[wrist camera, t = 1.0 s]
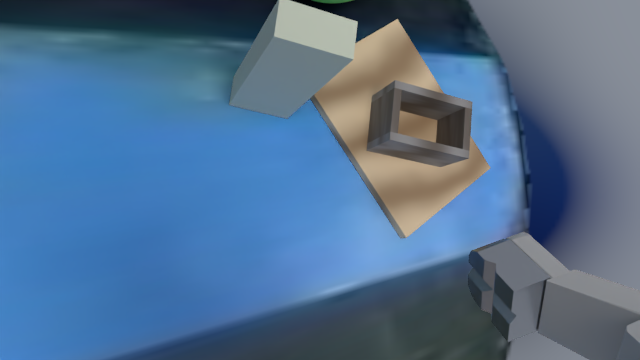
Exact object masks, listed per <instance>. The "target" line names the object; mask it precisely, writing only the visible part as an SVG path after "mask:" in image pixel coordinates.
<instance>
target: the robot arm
mask: <svg viewBox="0 0 640 360" xmlns="http://www.w3.org/2000/svg"><path fill="white" fill-rule="evenodd" d="M469 263H470V265H471V266H472V267H473V268H472V270H471V271H470V273H469V274H468V286H469V289H470V292H471V295H472V297H473V299H474V300H475V302H476V303H477V305H478V306H479V307H480V309H482V310H484V311H486V312H489V313H491V314H492V323H493V325H494V326H495V327H496V328H497V329H498V331H499V332H500V333H501V334H502V336H503V337H504V338H505V339H506V340H507V342H509V341H512V340H514V339H517V338H520V337H522V336H525V335H528V334H530V333H533V332H536V331H538V333H539V334H541V335H543V336H545V337H547V338H549V339H551V340H553V341H555V342H557V343H558V344H561V345H562V346H564V347H566V348H568V349H570V350H572V351H574V352H576V353H578V354H580V355H581V356H583V357H585V358H587V359H589V360H640V291H639V290H636V289H633V288H630V287H627V286H624V285H621V284H618V283H615V282H612V281H609V280H606V279H603V278H600V277H597V276H593V275H590V274H587V273H584V272H581V271H578V270H572V271H569V270H568V269H567V268H566V267H565V266H564V265H562V264H561V263H560V262H559V261H558V260H557V259H555V258H554V256H552V255H551V254H550V253H549V252H548V251H547V250H546V249H545V248H543V247H542V246H541V245H540V244H539V243H538V242H537V241H536V240H534V239H533V238H532V237H531V236H530V235H529V234H527V233H525V232H522V233H519V234H516V235H514V236H511V237H508V238H506V239H502V240H499V241H496V242H494V243H491V244H488V245H486V246H483V247H480V248H477V249H475V250H472V251H471V252H470V254H469Z"/></svg>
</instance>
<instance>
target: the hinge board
mask: <svg viewBox="0 0 640 360" xmlns="http://www.w3.org/2000/svg"><path fill="white" fill-rule="evenodd" d="M310 99H311V101H312V102H313V104H314V105H315V107H316V108H317V110H318V111H319V113H320V114H321V116H322V118H323V119H324V121H325V122H326V124H327V125H328V127H329V128H330V130H331V131H332V133H333V135H334V136H335V138H336V139H337V141H338V142H339V144H340V145H341V147H342V148H343V150H344V152H345V153H346V155H347V156H348V158H349V159H350V161H351V162H352V164H353V165H354V167H355V169H356V170H357V172H358V173H359V175H360V176H361V178H362V179H363V181H364V182H365V184H366V186H367V187H368V189H369V190H370V192H371V193H372V195H373V196H374V198H375V199H376V201H377V203H378V204H379V206H380V207H381V209H382V210H383V212H384V213H385V215H386V216H387V218H388V220H389V221H390V223H391V224H392V226H393V227H394V229H395V230H396V232H397V233H398V235H399V237H400V238H407V237H408V236H409V235H410V234H412V233H413V232H414V231H415V230H416V229H418V228H419V227H420V226H421V225H422V224H424V223H425V222H426V221H427V220H428V219H430V218H431V217H432V216H433V215H434V214H436V213H437V212H438V211H439V210H440V209H442V208H443V207H444V206H445V205H446V204H448V203H449V202H450V201H451V200H453V199H454V198H455V197H456V196H457V195H459V194H460V193H461V192H462V191H463V190H465V189H466V188H467V187H468V186H469V185H471V184H472V183H473V182H474V181H475V180H477V179H478V178H479V177H480V176H481V175H483V174H484V173H485V172H486V171H487V170H489V169H490V167H489V165H488V163H487V162H486V160H485V159H484V157H483V155H482V154H481V152H480V151H479V149H478V147H477V146H476V144H475V143H474V141H473V139H472V138H471V136H470V133H471V115H472V102H471V101H468V100H464V99H460V98H457V97H453V96H450V95H446V94H444V93H443V91H442V90H441V88H440V86H439V85H438V83H437V82H436V80H435V78H434V77H433V75H432V74H431V72H430V70H429V69H428V67H427V66H426V64H425V62H424V61H423V59H422V58H421V56H420V54H419V53H418V51H417V50H416V48H415V46H414V45H413V43H412V42H411V40H410V38H409V37H408V35H407V34H406V32H405V30H404V29H403V27H402V26H401V24H400V22H399V21H398V19H397V20H395V21H393V22H392V23H390V24H388V25H386V26H385V27H383V28H381V29H379V30H378V31H376V32H374V33H373V34H371V35H369V36H367V37H366V38H364V39H362V40H361V41H359V42H357V43H355V50H354V59H353V60H352V61H351V62H350V63H349V64H348V65H347V66H346V67H344V68H343V69H342V70H341V71H340V72H339V73H338V74H337V75H336V76H334V77H333V78H332V79H331V80H330V81H329V82H328V83H327V84H325V85H324V86H323V87H322V88H321V89H320V90H319V91H318V92H317V93H315V94H314V95H313V96H312V97H311V98H310Z"/></svg>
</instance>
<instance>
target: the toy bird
mask: <svg viewBox="0 0 640 360" xmlns="http://www.w3.org/2000/svg"><path fill="white" fill-rule="evenodd" d="M313 1H317V2H322V3H344V2H349V1H353V0H313Z"/></svg>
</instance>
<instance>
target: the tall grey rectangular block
mask: <svg viewBox="0 0 640 360" xmlns="http://www.w3.org/2000/svg"><path fill="white" fill-rule="evenodd" d="M357 23H358V22H357V21H354V20H350V19H347V18H344V17H341V16H338V15H335V14H332V13H328V12H325V11H322V10H319V9H316V8H313V7H310V6H306V5H303V4H300V3H297V2H294V1H291V0H278V1H277V3H276V5H275V6H274V8H273V10H272V11H271V13H270V15H269V17H268V18H267V20H266V22H265V24H264V25H263V27H262V29H261V30H260V32H259V34H258V36H257V37H256V39H255V41H254V42H253V44H252V46H251V48H250V49H249V51H248V53H247V55H246V56H245V58H244V60H243V61H242V63H241V65H240V67H239V68H238V70H237V72H236V74H235V75H234V78H233V84H232V90H231V96H230V102H229V105H230V106H235V107H239V108H243V109H247V110H252V111H256V112H260V113H264V114H269V115H273V116H277V117H281V118H286V119H288V118H289V117H290V116H291V115H292V114H293V113H294V112H295V111H297V110H298V109H299V108H300V107H301V106H302V105H303V104H304V103H305V102H307V101H308V100H309V99H310V98H311V97H312V96H313V95H314V94H315V93H317V92H318V91H319V90H320V89H321V88H322V87H323V86H324V85H325V84H327V83H328V82H329V81H330V80H331V79H332V78H333V77H334V76H336V75H337V74H338V73H339V72H340V71H341V70H342V69H343V68H344V67H346V66H347V65H348V64H349V63H350V62H351V61H352V60H353V59H354V50H355V41H356V32H357Z"/></svg>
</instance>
